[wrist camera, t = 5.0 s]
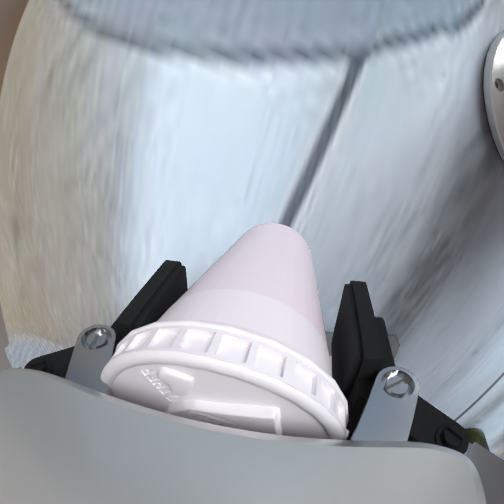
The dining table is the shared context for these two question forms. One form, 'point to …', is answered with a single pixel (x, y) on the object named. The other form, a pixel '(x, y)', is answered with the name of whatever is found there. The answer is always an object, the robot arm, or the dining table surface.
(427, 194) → the dining table surface
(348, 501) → the robot arm
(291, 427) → the smoothie
